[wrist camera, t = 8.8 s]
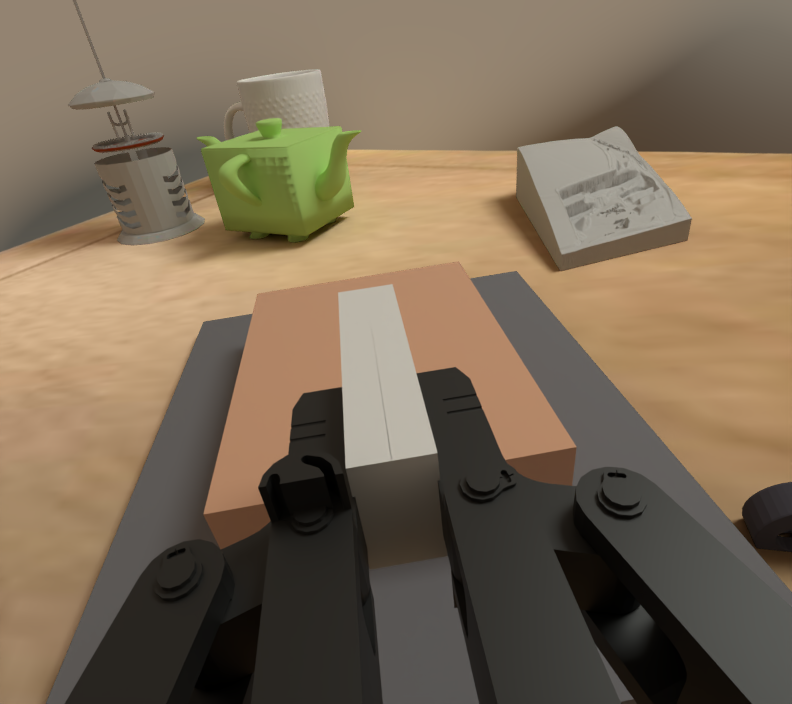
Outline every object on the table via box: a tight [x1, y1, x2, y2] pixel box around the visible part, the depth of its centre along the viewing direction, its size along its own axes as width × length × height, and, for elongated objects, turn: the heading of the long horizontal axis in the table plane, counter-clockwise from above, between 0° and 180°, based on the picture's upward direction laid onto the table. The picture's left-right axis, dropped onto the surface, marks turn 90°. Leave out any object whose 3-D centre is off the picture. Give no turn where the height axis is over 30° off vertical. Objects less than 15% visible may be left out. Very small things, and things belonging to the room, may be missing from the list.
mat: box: [46, 271, 792, 704], centre depth 24 cm, size 22×26×1 cm
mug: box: [224, 69, 329, 141], centre depth 68 cm, size 15×11×13 cm
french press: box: [68, 0, 205, 245], centre depth 51 cm, size 10×12×25 cm
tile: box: [203, 262, 577, 549], centre depth 23 cm, size 12×3×16 cm
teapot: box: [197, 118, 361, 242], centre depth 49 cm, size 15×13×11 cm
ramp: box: [516, 126, 692, 271], centre depth 45 cm, size 28×16×5 cm, turn 156°
